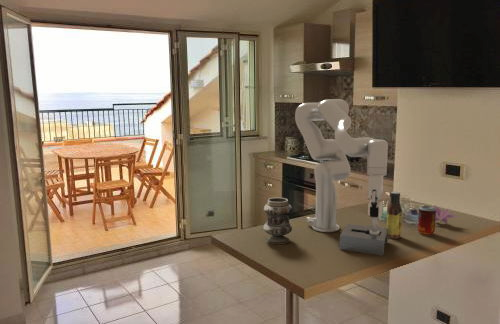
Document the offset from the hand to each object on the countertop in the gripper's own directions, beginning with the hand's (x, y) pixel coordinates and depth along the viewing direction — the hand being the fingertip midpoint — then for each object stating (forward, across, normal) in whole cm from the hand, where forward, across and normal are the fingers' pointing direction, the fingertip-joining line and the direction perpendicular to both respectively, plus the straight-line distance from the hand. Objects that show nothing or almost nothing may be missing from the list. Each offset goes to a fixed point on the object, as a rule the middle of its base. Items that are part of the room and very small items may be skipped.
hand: (374, 214), depth 174 cm
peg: (+8, 0, 0) cm, 8 cm away
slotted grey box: (+14, 0, -4) cm, 14 cm away
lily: (+14, -42, +25) cm, 51 cm away
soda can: (+14, -26, +19) cm, 35 cm away
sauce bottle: (+14, -16, +6) cm, 22 cm away
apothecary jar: (+14, +8, -39) cm, 42 cm away
